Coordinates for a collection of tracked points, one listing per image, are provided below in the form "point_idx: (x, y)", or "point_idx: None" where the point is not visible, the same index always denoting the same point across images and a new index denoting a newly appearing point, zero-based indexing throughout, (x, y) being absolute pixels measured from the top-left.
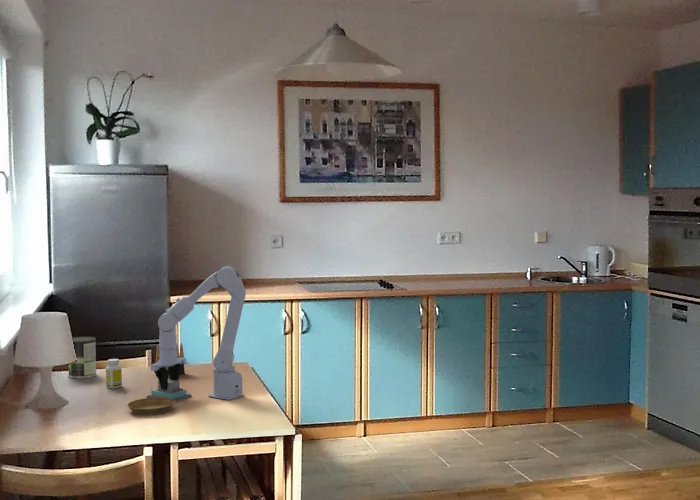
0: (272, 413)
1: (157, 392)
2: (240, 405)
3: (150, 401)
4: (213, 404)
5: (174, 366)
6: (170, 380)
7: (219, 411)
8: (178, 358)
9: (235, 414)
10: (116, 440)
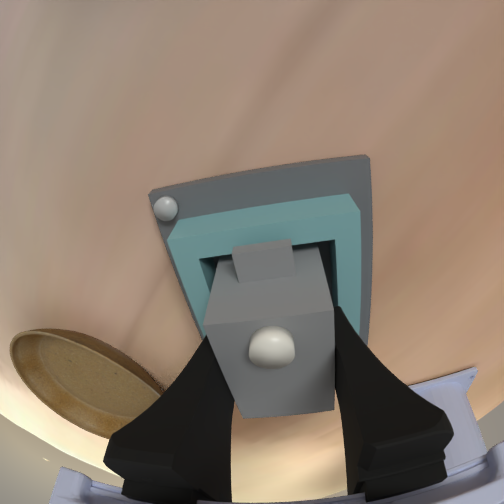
0: (321, 494)
1: (189, 293)
2: (342, 465)
3: (104, 349)
4: (308, 443)
5: (361, 490)
6: (302, 375)
7: (262, 470)
8: (496, 500)
9: (268, 484)
10: (17, 423)
